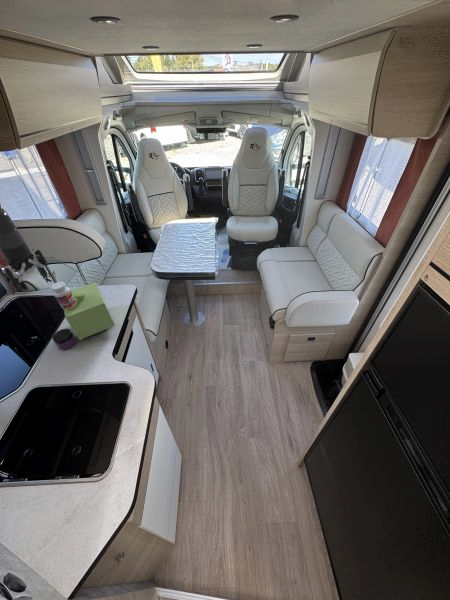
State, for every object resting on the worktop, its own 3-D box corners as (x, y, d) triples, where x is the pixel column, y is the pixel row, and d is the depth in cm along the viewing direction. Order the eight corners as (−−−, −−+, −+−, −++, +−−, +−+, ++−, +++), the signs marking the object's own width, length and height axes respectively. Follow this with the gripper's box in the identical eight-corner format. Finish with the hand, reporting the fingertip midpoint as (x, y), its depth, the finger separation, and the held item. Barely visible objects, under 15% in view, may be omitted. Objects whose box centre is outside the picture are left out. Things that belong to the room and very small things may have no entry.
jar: (54, 348, 117) (48, 340, 113) (67, 335, 122) (62, 327, 119) (68, 352, 115) (62, 344, 111) (80, 338, 120) (75, 331, 117)
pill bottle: (75, 308, 110) (64, 288, 103) (60, 311, 109) (47, 291, 102) (78, 299, 115) (67, 279, 107) (63, 302, 114) (51, 282, 106)
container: (74, 319, 131) (56, 289, 117) (107, 307, 137) (93, 277, 124) (81, 343, 118) (62, 312, 105) (116, 328, 125) (102, 298, 111)
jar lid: (49, 341, 114) (48, 339, 113) (62, 329, 119) (61, 327, 118) (63, 345, 112) (62, 343, 111) (76, 332, 117) (74, 330, 116)
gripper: (20, 232, 90) (42, 270, 100) (-19, 252, 79) (10, 292, 90) (37, 235, 88) (58, 273, 99) (-1, 255, 78) (26, 296, 88)
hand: (35, 282), depth 94 cm, fingers open, 8 cm apart
